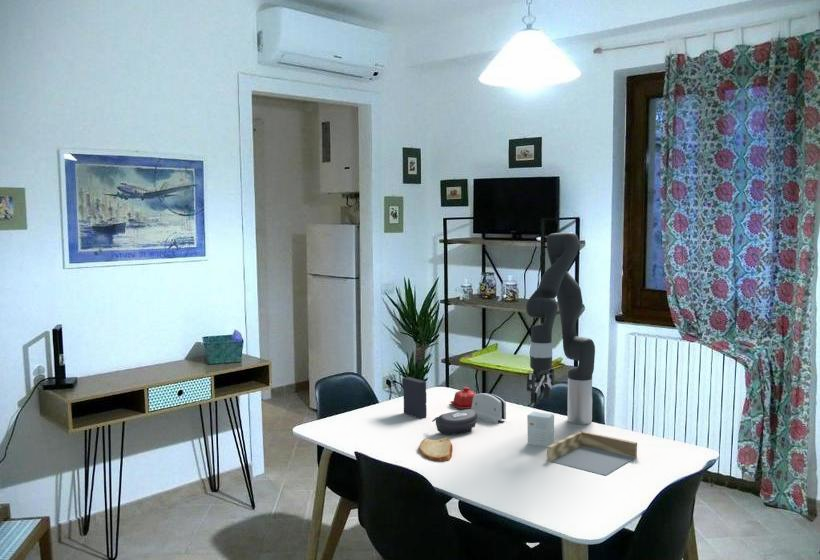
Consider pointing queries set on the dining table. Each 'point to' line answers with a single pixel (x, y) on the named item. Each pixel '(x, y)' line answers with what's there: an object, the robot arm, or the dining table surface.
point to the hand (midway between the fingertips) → (540, 400)
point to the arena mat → (593, 460)
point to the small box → (540, 429)
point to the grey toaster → (489, 407)
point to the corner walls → (591, 445)
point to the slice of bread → (436, 449)
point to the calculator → (414, 397)
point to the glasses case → (456, 421)
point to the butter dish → (463, 398)
